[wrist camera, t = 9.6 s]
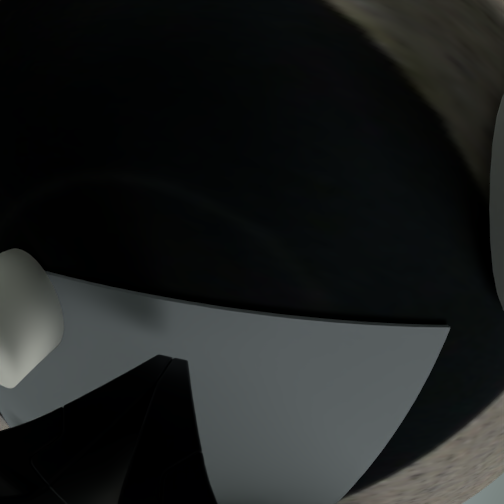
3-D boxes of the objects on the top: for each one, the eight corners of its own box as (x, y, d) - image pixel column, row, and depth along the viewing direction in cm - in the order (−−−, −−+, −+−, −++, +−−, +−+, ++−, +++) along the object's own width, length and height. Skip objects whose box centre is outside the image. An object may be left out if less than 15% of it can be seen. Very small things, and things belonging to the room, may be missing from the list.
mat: (447, 324, 8) (450, 327, 8) (305, 530, 13) (305, 531, 13) (-53, 240, 8) (-56, 241, 8) (34, 459, 14) (33, 460, 13)
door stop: (55, 257, 8) (-7, 287, 5) (73, 361, 9) (33, 406, 6) (-9, 242, 8) (-58, 261, 5) (8, 332, 9) (-29, 362, 6)
